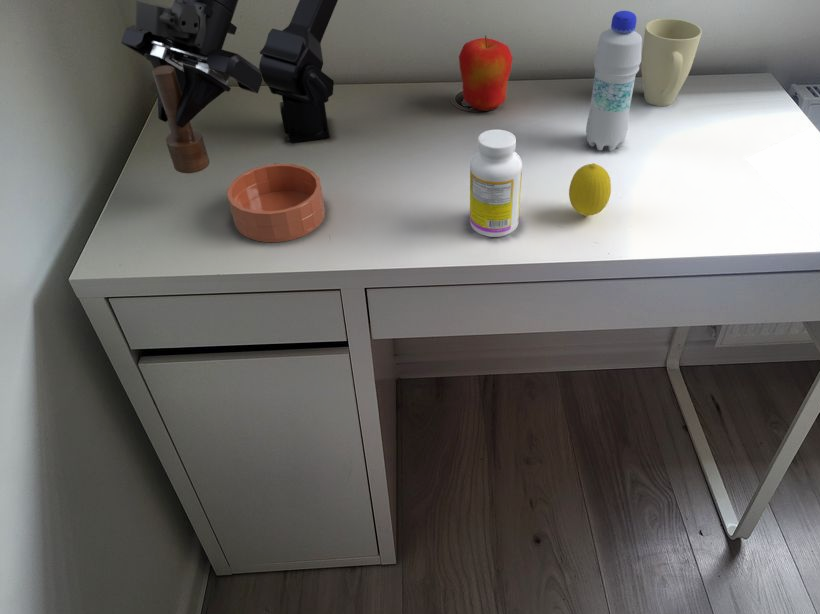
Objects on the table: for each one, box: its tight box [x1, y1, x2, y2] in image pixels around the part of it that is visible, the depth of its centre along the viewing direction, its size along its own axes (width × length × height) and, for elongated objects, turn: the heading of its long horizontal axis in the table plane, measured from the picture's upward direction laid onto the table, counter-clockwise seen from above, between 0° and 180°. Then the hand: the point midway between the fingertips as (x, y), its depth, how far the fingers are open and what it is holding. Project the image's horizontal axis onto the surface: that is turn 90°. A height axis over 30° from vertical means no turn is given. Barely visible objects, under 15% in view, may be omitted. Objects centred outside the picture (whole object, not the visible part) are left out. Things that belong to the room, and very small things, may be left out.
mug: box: [640, 18, 703, 107], centre depth 118 cm, size 11×10×12 cm
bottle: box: [585, 10, 643, 152], centre depth 105 cm, size 7×7×20 cm
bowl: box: [226, 163, 326, 243], centre depth 96 cm, size 12×12×4 cm
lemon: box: [568, 163, 612, 217], centre depth 95 cm, size 6×6×8 cm
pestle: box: [152, 65, 211, 174], centre depth 91 cm, size 5×5×13 cm
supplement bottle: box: [469, 129, 523, 238], centre depth 92 cm, size 7×7×13 cm
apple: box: [458, 34, 513, 111], centre depth 117 cm, size 9×8×12 cm
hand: (170, 123), depth 90 cm, fingers closed on pestle, 2 cm apart
